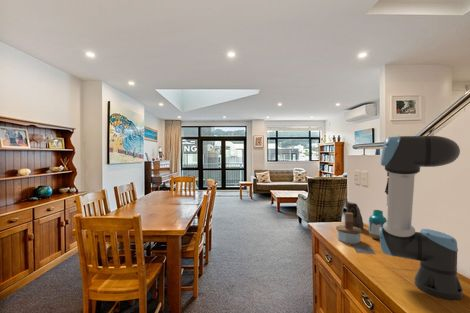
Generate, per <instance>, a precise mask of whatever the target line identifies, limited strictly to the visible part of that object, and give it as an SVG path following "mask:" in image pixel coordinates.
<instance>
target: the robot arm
mask: <svg viewBox="0 0 470 313" xmlns="http://www.w3.org/2000/svg"><path fill="white" fill-rule="evenodd" d="M460 154H461V148H460V146H459V145H458V143H457V142H456V141H454V140H453V139H450V138H447V137H443V136H439V135H409V136H408V135H403V136H402V135H401V136H400V135H397V136H388V137H387V138H385V140H384V141H383V146H382V151H381V158H380V166H383V167H384V170H385V172H386V176H387V180H386V181H387V182H386V184H385V185H386V186H385V190H384V193H386V206H387V216H386V220H387V222H385V223H384V224H383V227H380V228H379V235H380V240H379V242H380V243H379V244H380V249H381V252H382V253H383V254H384V255H388V256H392V257H398V258H402V259H408V260H414V261H419V268H418V270H417V272H416V274H415V276H414V285H415V286H416V287H417V288H418V289H420V290H421V291H423V292H424V293H427V294H429V295H432V296H434V297H437V298H440V299H441V298H442V299H445V300H453V301H454V300H462V299H463V297H464V296H463V292H464V291H463V288H462V285H461V283H460V280H459V277H458V252H459V249H458V241H457V240H456V238H454V237H453V236H452V235H449V234H447V233H445V232H441V231H439V230H434V229H429V228H421V229H420V231H419V232H418V231H416V229H415V227H414V226H412V219H413V204H414V192H415V190H414V189H415V188H414V187H415V176H416V175H417V174H418V173H420V171H421V168H422V167H423V168H426V167H427V168H428V167H432V168H434V167H435V168H436V167H440V166H446V165H450V164H451V163H454V162H455V161H456V160H457V159H458V158H459V156H460Z"/></svg>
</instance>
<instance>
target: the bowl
mask: <svg viewBox="0 0 470 313" xmlns="http://www.w3.org/2000/svg"><path fill="white" fill-rule="evenodd" d="M336 233H337V234H336V235H337V236H336V238H337V239H338V241H340V242H342V243H345V244H357V245H358V244H359V243H361V234H362V233H360V234H349V233H343V232H340V231H338V230H337V232H336Z"/></svg>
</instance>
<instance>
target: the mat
mask: <svg viewBox="0 0 470 313" xmlns="http://www.w3.org/2000/svg"><path fill="white" fill-rule="evenodd" d="M351 246H352V247H353V249H354V251H355V252H356V253H357V254H367V255H368V254H369V255H377V253H376V252H375V251H374V249H373V248H371V246H370V245H367V244H366V245H365V244H358V243H357V244H351Z"/></svg>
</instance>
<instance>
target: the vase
mask: <svg viewBox="0 0 470 313" xmlns="http://www.w3.org/2000/svg"><path fill="white" fill-rule="evenodd" d="M385 222H387V217H385V216H384V211H383V210H380V209H373V211H372V214H371V215H370V216H369V219H368V233H369V234H368V235H369V236H370V237H371V238H372V239H374V240H378V241H380V235H379V228H380V227H383V224H384V223H385Z"/></svg>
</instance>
